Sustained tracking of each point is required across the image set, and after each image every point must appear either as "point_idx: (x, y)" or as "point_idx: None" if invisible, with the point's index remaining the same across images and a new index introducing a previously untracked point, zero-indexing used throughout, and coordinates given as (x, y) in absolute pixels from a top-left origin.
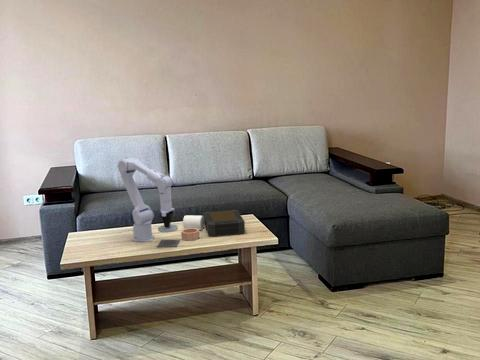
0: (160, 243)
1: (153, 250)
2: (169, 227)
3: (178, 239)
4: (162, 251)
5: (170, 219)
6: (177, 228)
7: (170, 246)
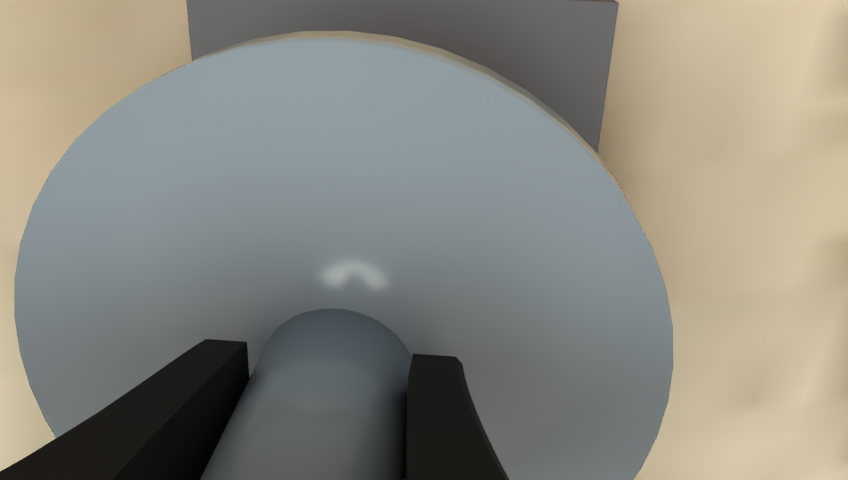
0: None
1: (713, 395)
2: (379, 329)
3: (192, 17)
4: (815, 249)
5: (132, 473)
6: (368, 38)
7: (598, 135)
